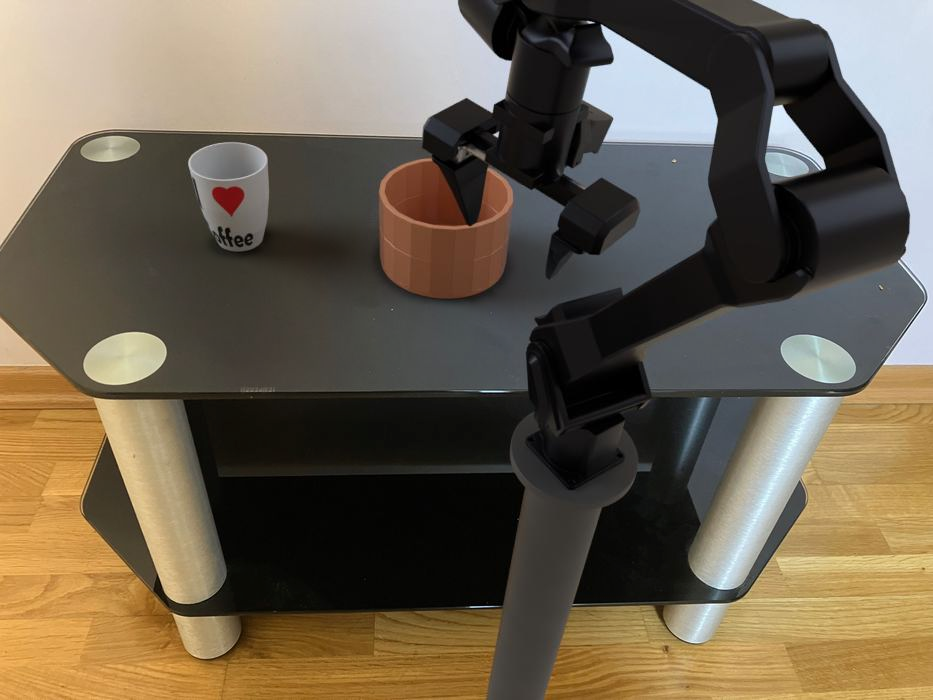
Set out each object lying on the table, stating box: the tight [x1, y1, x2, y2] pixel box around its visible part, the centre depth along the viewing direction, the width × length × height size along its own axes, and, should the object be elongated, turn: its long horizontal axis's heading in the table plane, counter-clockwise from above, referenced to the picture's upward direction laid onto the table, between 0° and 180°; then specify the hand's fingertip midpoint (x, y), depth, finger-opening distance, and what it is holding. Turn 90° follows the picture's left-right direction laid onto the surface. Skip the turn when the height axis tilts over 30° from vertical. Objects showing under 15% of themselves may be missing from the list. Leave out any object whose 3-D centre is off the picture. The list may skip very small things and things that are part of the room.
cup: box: [187, 141, 270, 252], centre depth 86 cm, size 8×8×10 cm
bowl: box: [378, 157, 514, 300], centre depth 86 cm, size 14×14×9 cm
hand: (510, 249), depth 70 cm, fingers open, 9 cm apart
